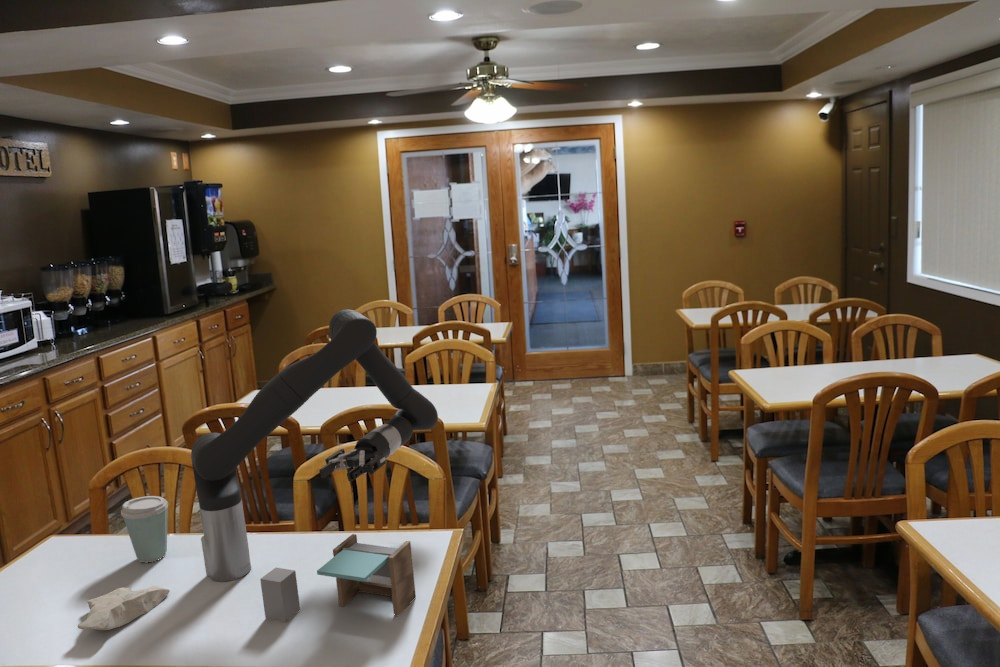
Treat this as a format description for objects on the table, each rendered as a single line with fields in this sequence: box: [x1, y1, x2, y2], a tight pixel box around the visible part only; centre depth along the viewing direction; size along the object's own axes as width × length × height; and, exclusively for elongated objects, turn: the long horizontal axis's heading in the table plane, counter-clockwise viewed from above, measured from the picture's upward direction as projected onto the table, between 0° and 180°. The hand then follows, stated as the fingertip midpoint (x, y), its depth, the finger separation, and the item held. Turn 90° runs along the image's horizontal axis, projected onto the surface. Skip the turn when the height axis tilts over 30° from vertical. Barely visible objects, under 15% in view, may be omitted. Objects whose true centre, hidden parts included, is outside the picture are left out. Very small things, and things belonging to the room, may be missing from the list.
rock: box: [77, 585, 171, 631], centre depth 169 cm, size 21×5×15 cm
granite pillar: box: [260, 567, 301, 624], centre depth 164 cm, size 5×5×9 cm
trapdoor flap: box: [316, 542, 399, 582], centre depth 161 cm, size 14×11×6 cm
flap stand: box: [332, 533, 417, 616], centre depth 166 cm, size 8×14×13 cm, turn 68°
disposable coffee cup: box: [120, 495, 169, 564], centre depth 194 cm, size 11×11×15 cm
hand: (334, 476), depth 180 cm, fingers open, 8 cm apart
